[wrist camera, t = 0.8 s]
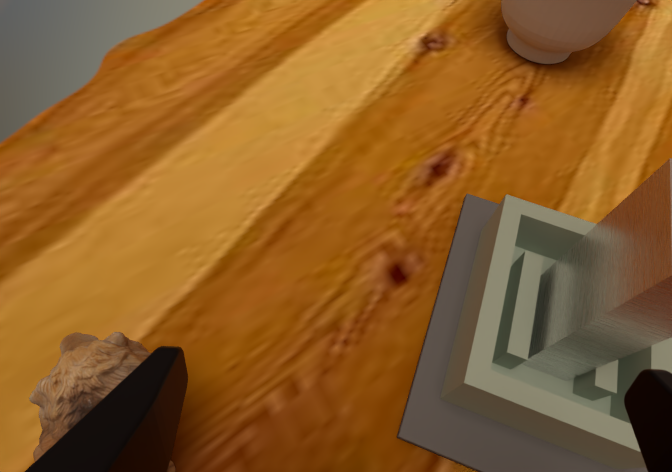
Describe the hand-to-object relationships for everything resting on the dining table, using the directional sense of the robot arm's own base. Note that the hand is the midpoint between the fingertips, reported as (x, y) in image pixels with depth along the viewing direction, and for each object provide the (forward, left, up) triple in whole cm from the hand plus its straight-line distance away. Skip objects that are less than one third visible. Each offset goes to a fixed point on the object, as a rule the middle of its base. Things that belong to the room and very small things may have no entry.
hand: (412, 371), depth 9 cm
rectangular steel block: (0, -12, -14) cm, 19 cm away
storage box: (0, -12, -15) cm, 19 cm away
